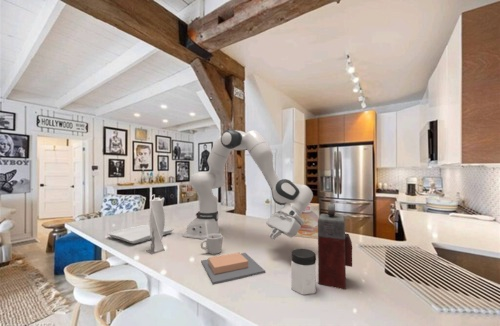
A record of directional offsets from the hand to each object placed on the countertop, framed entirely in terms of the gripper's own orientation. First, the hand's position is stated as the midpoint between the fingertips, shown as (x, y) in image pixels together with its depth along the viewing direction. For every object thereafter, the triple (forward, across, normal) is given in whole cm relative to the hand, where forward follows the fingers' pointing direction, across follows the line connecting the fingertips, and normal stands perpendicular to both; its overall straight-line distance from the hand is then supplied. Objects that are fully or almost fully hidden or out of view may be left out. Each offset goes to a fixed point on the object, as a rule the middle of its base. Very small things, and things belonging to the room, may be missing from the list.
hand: (271, 238), depth 98 cm
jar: (+8, +25, +6) cm, 27 cm away
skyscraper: (+40, -34, -26) cm, 59 cm away
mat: (+20, 0, -7) cm, 21 cm away
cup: (+23, -19, -9) cm, 31 cm away
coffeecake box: (-19, -21, +33) cm, 43 cm away
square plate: (+46, -62, -32) cm, 84 cm away
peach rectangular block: (+15, 0, -5) cm, 15 cm away
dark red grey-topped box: (-1, +26, +15) cm, 30 cm away
